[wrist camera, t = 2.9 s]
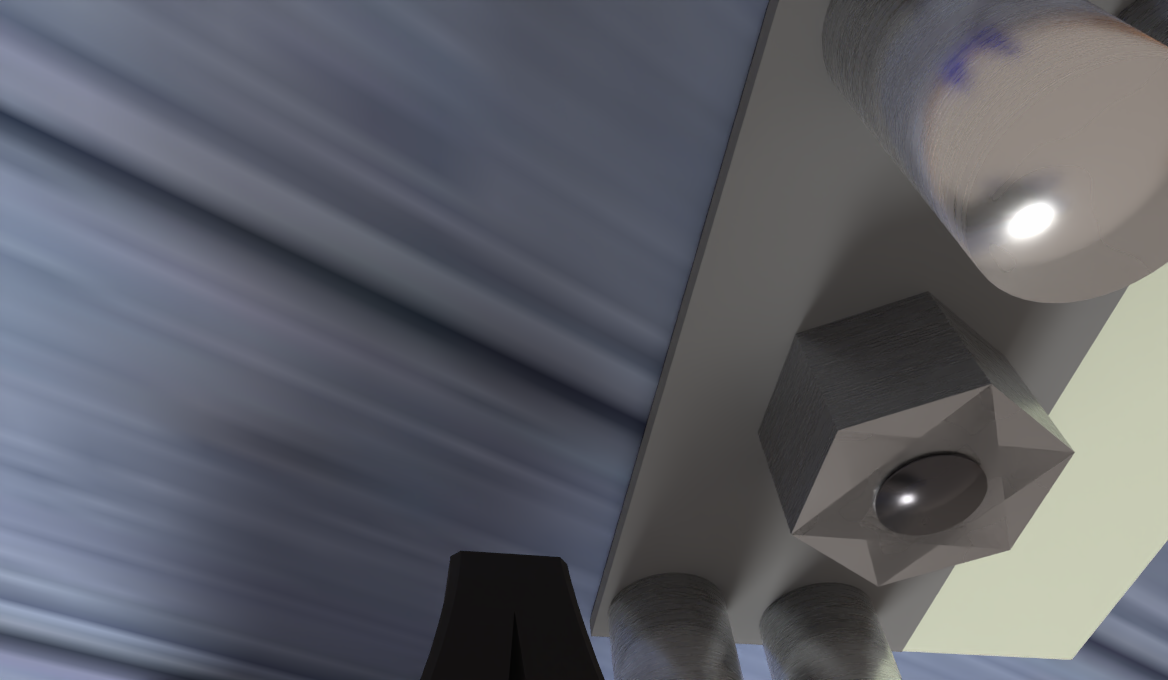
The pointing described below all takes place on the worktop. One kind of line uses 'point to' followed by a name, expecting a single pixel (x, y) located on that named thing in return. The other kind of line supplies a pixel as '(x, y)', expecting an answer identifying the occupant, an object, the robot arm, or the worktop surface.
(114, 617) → the worktop surface
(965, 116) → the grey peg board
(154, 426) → the worktop surface
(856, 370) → the nut
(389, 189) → the worktop surface
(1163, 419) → the mat
